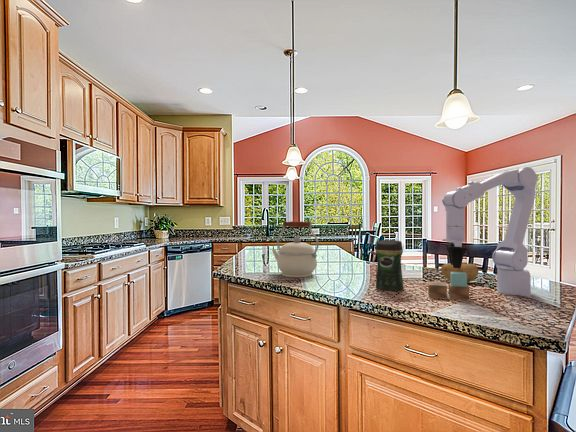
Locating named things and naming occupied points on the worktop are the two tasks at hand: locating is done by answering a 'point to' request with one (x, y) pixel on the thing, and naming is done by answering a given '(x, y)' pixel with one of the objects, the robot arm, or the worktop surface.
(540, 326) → the worktop surface
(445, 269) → the potato
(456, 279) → the teal block
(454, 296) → the walnut block
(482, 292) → the worktop surface
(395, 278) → the coffee jar
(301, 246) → the kettle
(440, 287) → the walnut block
